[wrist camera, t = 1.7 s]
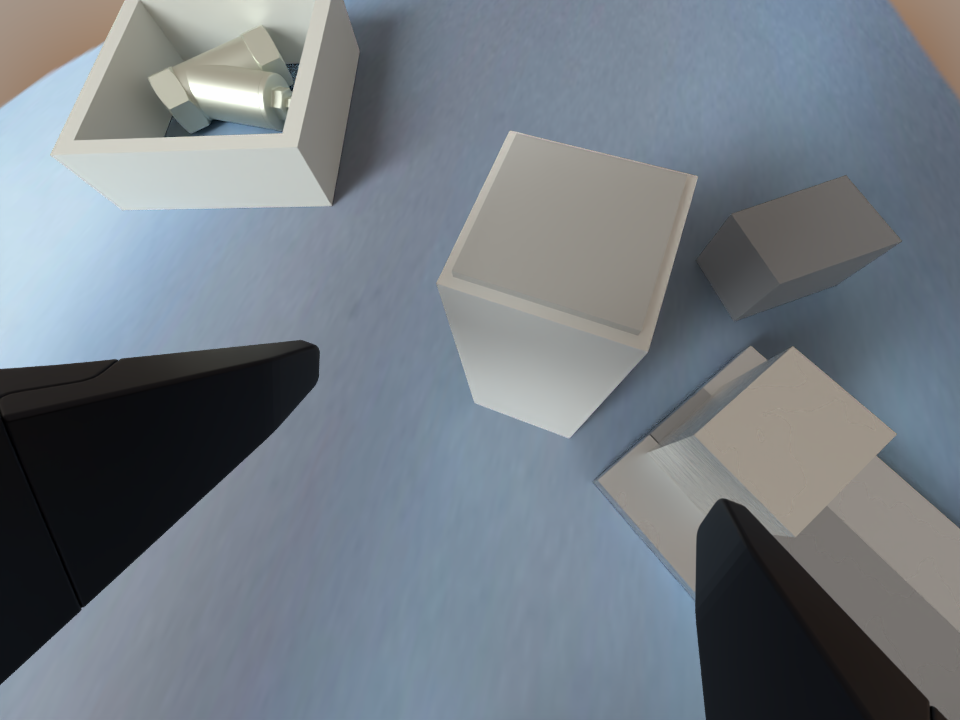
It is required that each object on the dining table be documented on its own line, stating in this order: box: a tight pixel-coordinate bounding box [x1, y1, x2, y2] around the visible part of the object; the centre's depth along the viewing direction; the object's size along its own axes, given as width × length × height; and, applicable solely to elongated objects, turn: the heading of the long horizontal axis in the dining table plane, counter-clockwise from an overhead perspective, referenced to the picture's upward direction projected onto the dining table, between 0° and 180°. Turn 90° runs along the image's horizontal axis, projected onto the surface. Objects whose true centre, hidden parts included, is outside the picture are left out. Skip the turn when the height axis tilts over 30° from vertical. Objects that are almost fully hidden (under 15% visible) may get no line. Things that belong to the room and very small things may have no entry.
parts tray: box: [50, 0, 360, 211], centre depth 26 cm, size 14×14×4 cm
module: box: [436, 131, 698, 438], centre depth 16 cm, size 5×5×12 cm
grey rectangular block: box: [696, 175, 902, 321], centre depth 21 cm, size 6×4×4 cm, turn 109°
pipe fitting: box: [148, 25, 294, 134], centre depth 28 cm, size 8×4×7 cm
